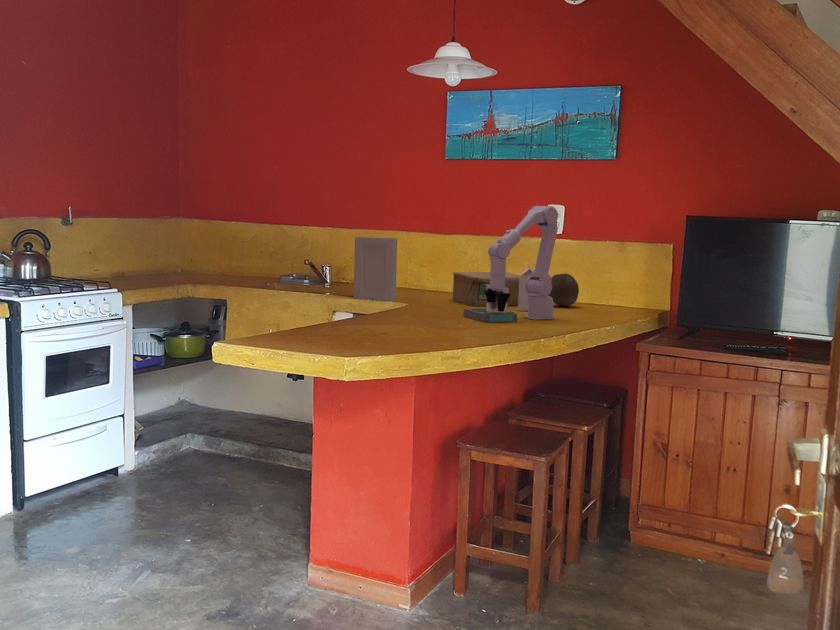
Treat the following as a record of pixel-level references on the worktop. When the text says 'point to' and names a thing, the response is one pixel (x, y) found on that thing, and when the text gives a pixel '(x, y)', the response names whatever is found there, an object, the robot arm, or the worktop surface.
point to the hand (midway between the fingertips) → (496, 310)
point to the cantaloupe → (564, 290)
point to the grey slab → (494, 308)
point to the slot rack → (489, 315)
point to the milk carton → (523, 290)
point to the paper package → (481, 288)
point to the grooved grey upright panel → (375, 268)
